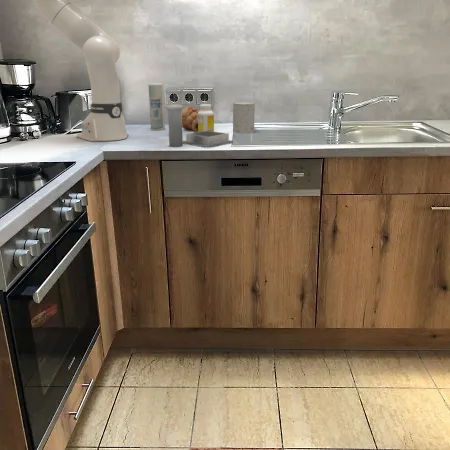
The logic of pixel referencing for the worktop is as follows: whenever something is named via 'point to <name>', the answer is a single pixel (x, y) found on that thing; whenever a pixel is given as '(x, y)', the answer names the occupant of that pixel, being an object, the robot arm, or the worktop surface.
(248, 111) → the grey cylinder
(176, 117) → the post
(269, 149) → the worktop surface
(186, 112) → the orange brown lumpy figure
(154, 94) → the spray can
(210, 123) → the supplement bottle
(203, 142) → the grey square tray
